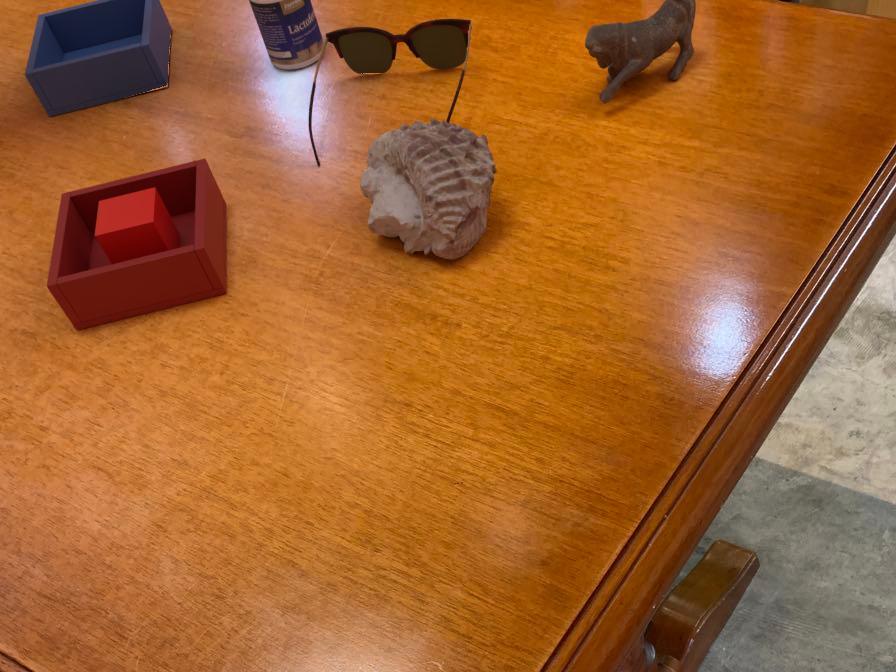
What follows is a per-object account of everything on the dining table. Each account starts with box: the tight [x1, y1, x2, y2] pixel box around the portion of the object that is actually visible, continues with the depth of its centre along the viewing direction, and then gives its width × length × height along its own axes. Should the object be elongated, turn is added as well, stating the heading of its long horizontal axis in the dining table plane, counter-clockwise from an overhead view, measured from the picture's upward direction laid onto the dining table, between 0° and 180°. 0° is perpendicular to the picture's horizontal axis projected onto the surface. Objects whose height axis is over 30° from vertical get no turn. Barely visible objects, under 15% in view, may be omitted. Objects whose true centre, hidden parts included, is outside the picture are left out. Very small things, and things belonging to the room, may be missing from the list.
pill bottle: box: [248, 0, 324, 71], centre depth 101 cm, size 6×6×10 cm
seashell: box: [359, 117, 498, 261], centre depth 83 cm, size 14×9×10 cm
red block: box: [95, 187, 180, 264], centre depth 85 cm, size 5×5×5 cm
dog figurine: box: [584, 0, 697, 104], centre depth 90 cm, size 12×6×7 cm, turn 124°
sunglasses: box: [308, 18, 473, 167], centre depth 94 cm, size 14×15×5 cm
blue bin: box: [24, 0, 172, 118], centre depth 107 cm, size 13×13×5 cm
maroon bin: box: [46, 158, 228, 331], centre depth 85 cm, size 13×13×5 cm
